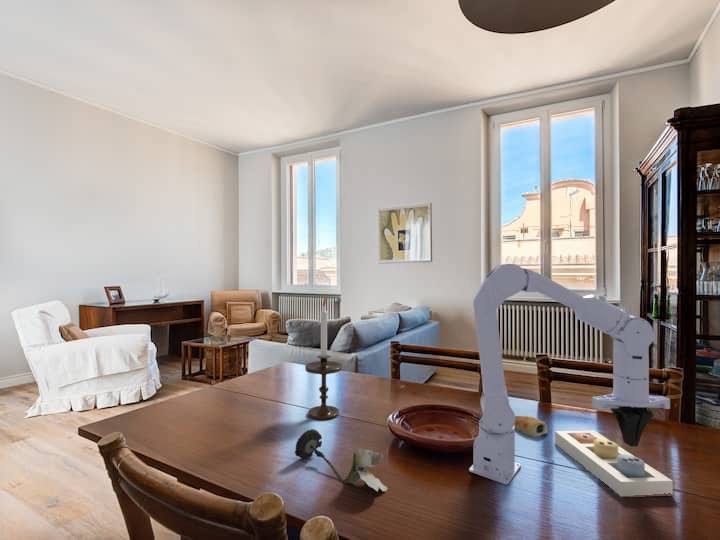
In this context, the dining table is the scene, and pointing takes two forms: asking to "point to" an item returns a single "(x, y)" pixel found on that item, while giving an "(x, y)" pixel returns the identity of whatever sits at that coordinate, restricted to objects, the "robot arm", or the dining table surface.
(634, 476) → the slate button
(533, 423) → the pastry
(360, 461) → the artificial flower
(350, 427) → the dining table surface
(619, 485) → the button panel
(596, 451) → the mustard button
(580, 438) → the terracotta button
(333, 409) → the candlestick
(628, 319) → the robot arm
